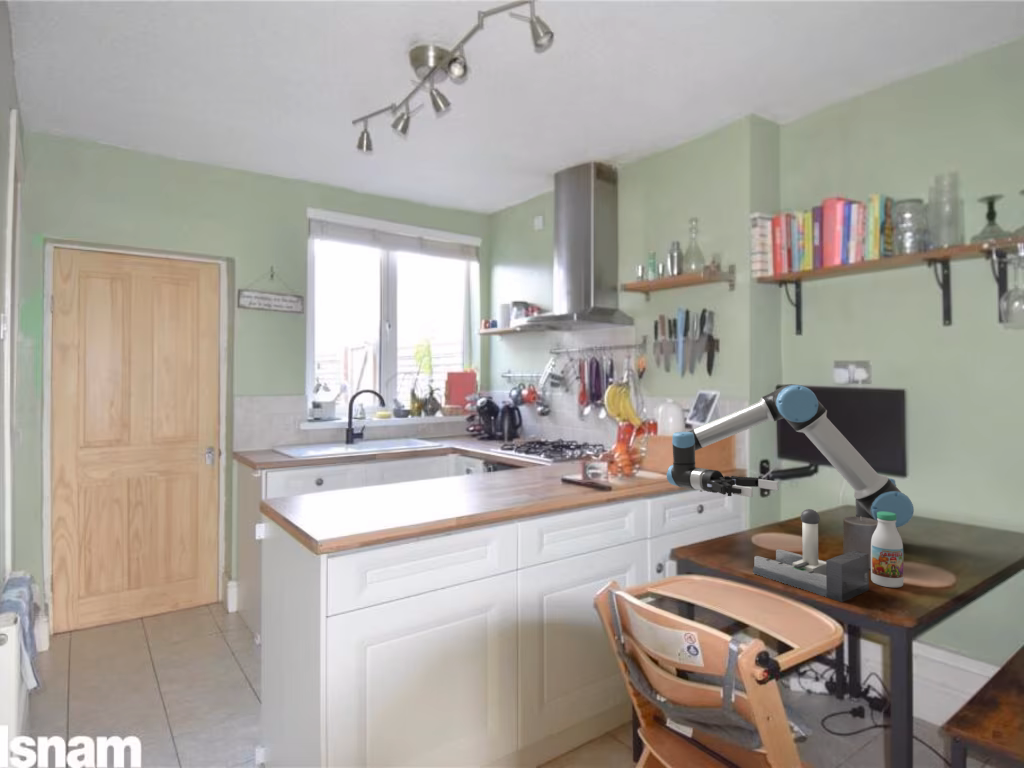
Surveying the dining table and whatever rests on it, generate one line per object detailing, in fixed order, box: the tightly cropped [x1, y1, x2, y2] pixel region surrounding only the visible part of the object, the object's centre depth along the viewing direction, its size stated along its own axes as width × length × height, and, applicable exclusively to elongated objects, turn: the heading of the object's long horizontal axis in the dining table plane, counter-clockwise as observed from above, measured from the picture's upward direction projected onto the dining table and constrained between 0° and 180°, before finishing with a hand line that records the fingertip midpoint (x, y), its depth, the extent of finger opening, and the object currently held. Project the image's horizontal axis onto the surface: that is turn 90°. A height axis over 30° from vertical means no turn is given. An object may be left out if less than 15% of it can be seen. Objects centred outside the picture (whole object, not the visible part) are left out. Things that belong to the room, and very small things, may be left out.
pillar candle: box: [842, 516, 878, 570], centre depth 179 cm, size 10×10×15 cm
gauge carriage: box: [792, 508, 826, 575], centre depth 164 cm, size 6×11×19 cm, turn 123°
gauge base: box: [752, 548, 870, 603], centre depth 166 cm, size 26×14×10 cm, turn 33°
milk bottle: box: [870, 511, 904, 589], centre depth 163 cm, size 8×8×20 cm
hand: (765, 489), depth 178 cm, fingers open, 13 cm apart
